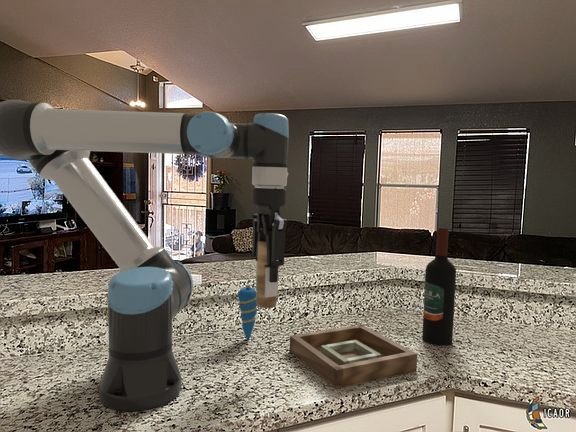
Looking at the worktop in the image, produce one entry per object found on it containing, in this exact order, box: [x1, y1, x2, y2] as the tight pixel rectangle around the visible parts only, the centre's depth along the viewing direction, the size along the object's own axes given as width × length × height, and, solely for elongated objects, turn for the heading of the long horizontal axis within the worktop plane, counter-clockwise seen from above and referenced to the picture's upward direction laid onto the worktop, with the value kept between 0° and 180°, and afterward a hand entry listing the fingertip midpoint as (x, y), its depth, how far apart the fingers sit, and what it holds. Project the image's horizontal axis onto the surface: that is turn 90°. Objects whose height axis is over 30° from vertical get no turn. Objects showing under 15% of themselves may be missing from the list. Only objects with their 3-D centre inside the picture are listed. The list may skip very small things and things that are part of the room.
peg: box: [256, 241, 277, 309], centre depth 98 cm, size 4×4×14 cm
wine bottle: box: [421, 226, 457, 347], centre depth 117 cm, size 8×8×30 cm
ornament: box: [237, 284, 258, 341], centre depth 115 cm, size 5×5×15 cm
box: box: [289, 324, 418, 390], centre depth 104 cm, size 21×21×4 cm
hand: (266, 293), depth 98 cm, fingers closed on peg, 4 cm apart
